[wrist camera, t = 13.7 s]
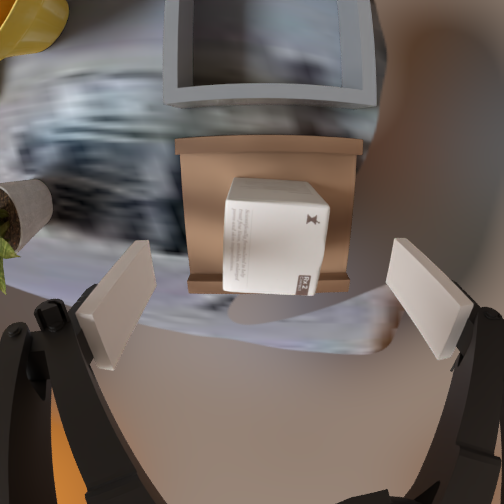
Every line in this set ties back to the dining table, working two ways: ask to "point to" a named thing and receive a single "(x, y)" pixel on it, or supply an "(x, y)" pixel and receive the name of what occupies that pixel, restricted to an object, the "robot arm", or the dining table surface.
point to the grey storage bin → (348, 96)
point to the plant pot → (30, 25)
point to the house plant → (21, 216)
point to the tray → (264, 167)
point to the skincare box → (273, 237)
